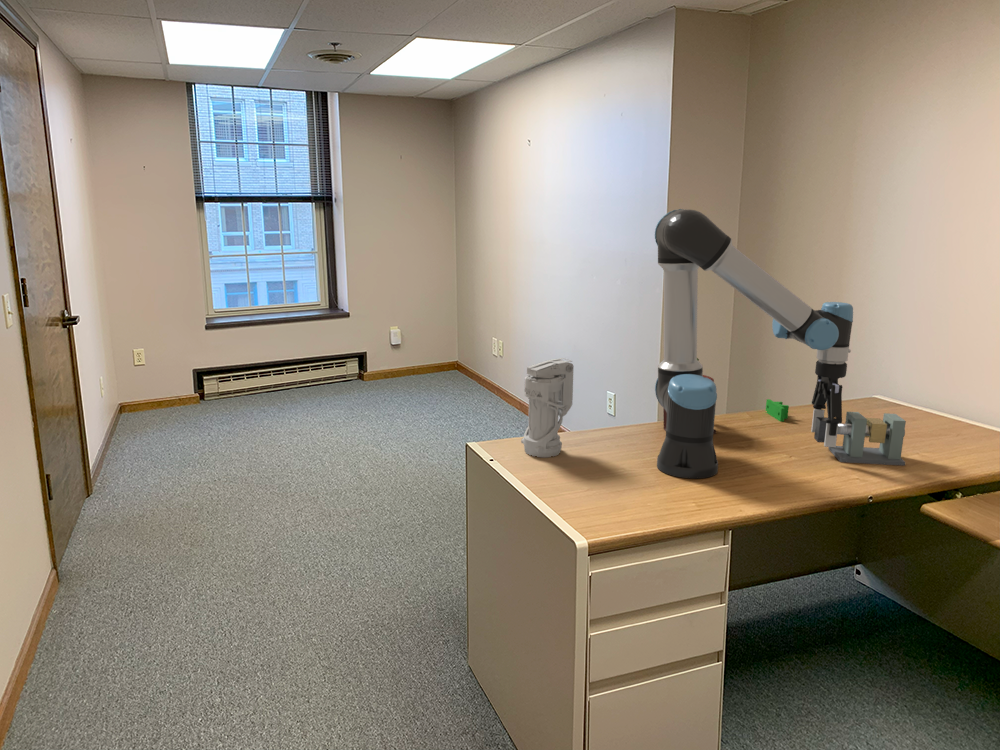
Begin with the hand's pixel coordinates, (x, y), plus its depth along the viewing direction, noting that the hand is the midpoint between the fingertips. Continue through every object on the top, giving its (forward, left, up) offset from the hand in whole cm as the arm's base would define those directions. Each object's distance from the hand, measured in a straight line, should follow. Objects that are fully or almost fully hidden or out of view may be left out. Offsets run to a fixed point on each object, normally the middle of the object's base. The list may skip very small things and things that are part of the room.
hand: (823, 439), depth 196 cm
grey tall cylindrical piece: (-69, +28, -5) cm, 75 cm away
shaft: (+8, -5, 0) cm, 9 cm away
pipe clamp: (+15, +34, -5) cm, 37 cm away
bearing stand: (+10, -6, -4) cm, 12 cm away
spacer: (+11, -6, +1) cm, 13 cm away
